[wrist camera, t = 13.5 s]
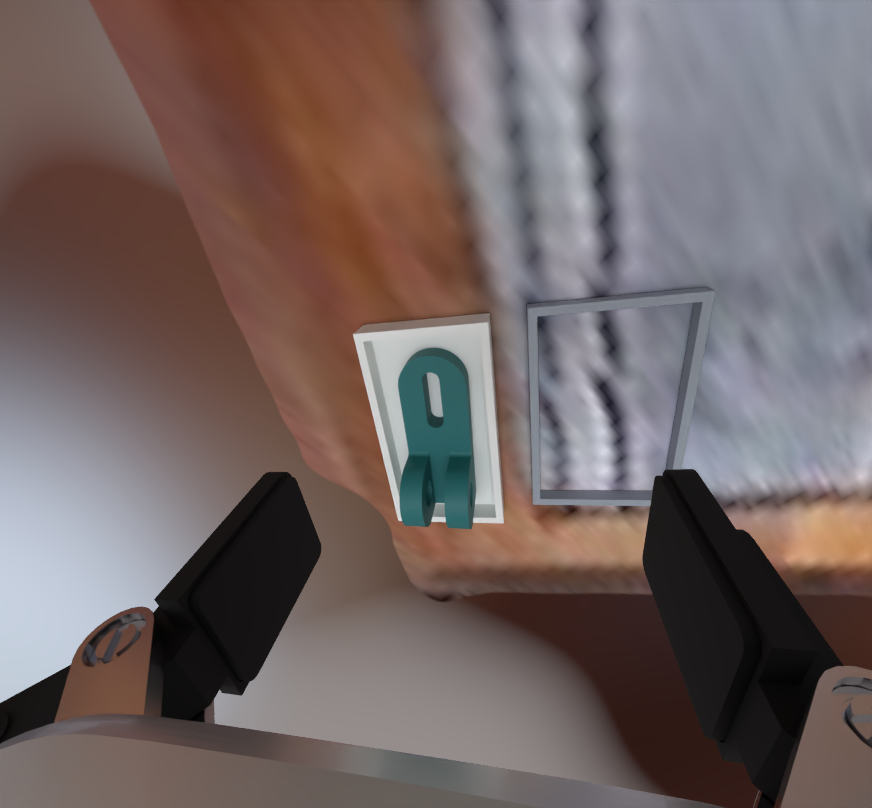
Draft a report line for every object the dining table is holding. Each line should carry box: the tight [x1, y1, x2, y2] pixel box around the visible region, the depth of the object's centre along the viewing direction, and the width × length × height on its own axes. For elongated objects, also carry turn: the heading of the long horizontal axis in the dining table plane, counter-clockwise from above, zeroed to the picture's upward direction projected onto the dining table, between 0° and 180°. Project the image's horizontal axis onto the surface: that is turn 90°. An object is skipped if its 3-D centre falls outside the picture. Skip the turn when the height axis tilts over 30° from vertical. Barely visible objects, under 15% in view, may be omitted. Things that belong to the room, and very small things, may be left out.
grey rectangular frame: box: [527, 287, 716, 506], centre depth 38 cm, size 15×23×2 cm, turn 8°
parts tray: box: [353, 313, 504, 523], centre depth 41 cm, size 13×24×3 cm, turn 8°
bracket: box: [398, 348, 476, 529], centre depth 38 cm, size 18×7×8 cm, turn 6°
